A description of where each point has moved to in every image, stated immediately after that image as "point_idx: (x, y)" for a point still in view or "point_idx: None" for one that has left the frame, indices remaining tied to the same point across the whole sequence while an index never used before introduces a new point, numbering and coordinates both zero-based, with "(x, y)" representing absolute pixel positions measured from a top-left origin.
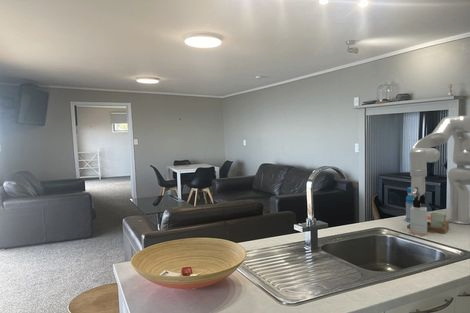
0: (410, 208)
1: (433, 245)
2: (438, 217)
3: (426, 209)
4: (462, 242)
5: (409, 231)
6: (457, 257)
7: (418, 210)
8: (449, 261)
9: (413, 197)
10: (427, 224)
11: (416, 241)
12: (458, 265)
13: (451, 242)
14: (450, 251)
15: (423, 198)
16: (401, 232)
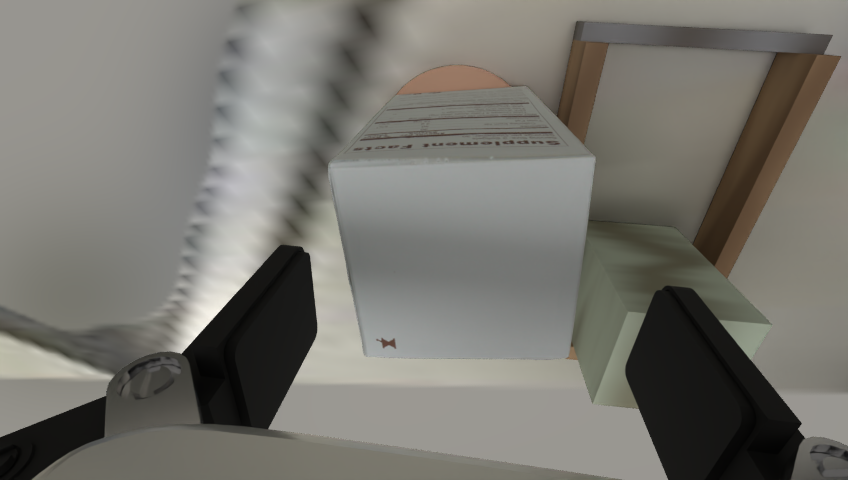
0: (365, 165)
1: (209, 267)
2: (595, 350)
3: (459, 352)
4: (377, 374)
5: (420, 79)
6: (116, 358)
7: (351, 274)
8: (35, 336)
9: (108, 414)
10: (731, 191)
11: (210, 172)
12: (24, 361)
13: (340, 336)
14: (176, 336)
15: (670, 458)
16: (386, 4)
